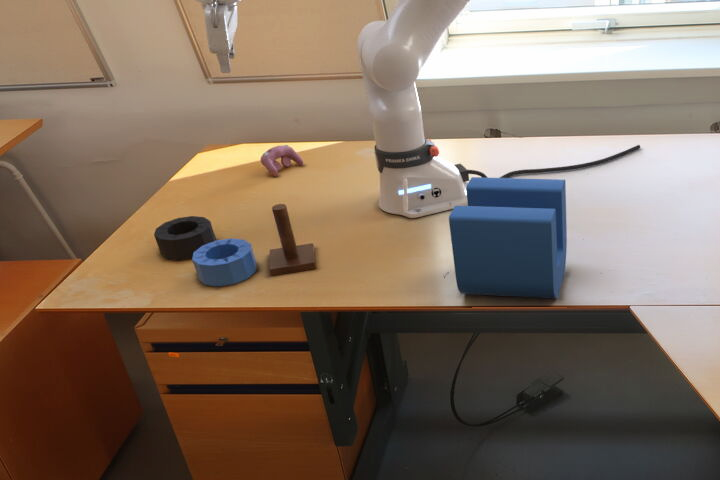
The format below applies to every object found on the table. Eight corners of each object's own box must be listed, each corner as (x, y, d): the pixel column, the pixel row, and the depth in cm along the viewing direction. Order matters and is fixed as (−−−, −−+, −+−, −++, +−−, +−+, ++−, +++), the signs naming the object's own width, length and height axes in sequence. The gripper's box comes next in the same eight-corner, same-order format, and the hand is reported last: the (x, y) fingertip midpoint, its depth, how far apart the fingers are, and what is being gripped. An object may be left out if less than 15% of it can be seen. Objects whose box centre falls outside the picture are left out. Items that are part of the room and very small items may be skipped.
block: (554, 310, 142) (551, 220, 132) (459, 305, 145) (448, 217, 135) (567, 262, 157) (565, 178, 146) (480, 258, 159) (472, 175, 149)
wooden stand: (314, 249, 166) (301, 194, 159) (315, 268, 159) (302, 212, 152) (271, 255, 164) (256, 201, 157) (270, 275, 157) (254, 219, 150)
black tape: (217, 232, 174) (211, 213, 172) (214, 255, 166) (207, 234, 163) (165, 240, 172) (158, 220, 169) (158, 263, 163) (151, 243, 161)
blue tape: (257, 255, 165) (251, 235, 162) (255, 280, 156) (249, 259, 153) (202, 264, 163) (195, 243, 160) (197, 290, 154) (190, 268, 151)
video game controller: (297, 167, 208) (284, 143, 206) (306, 163, 205) (293, 138, 202) (268, 180, 201) (254, 155, 199) (276, 176, 198) (262, 150, 196)
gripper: (230, 2, 139) (241, 81, 147) (238, -22, 154) (248, 50, 163) (192, 1, 137) (205, 80, 145) (204, -23, 153) (216, 49, 161)
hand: (228, 64), depth 154 cm, fingers open, 8 cm apart
